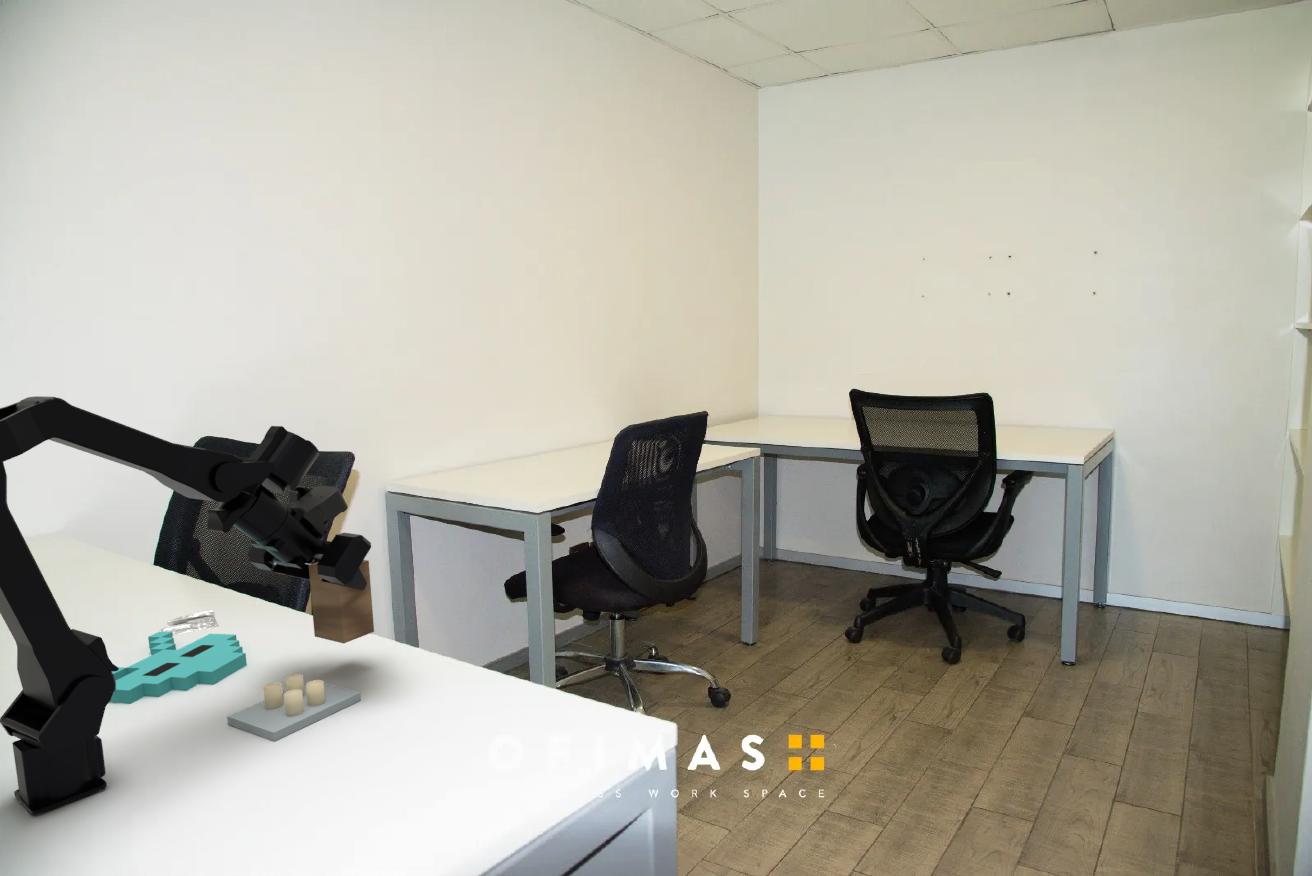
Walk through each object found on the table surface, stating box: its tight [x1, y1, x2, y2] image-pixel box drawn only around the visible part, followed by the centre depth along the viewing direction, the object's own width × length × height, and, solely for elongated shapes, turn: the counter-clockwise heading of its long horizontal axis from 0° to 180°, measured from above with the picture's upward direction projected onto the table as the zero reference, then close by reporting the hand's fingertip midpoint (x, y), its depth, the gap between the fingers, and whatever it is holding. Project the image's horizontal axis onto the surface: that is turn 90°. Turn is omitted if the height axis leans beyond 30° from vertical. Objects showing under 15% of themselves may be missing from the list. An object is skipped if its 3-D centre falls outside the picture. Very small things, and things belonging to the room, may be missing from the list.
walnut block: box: [309, 559, 375, 644], centre depth 116 cm, size 5×6×10 cm
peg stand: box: [226, 673, 362, 742], centre depth 104 cm, size 12×9×4 cm
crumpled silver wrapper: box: [160, 610, 220, 637], centre depth 138 cm, size 8×7×2 cm
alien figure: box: [109, 631, 248, 705], centre depth 119 cm, size 20×2×20 cm
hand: (349, 584), depth 117 cm, fingers closed on walnut block, 6 cm apart
